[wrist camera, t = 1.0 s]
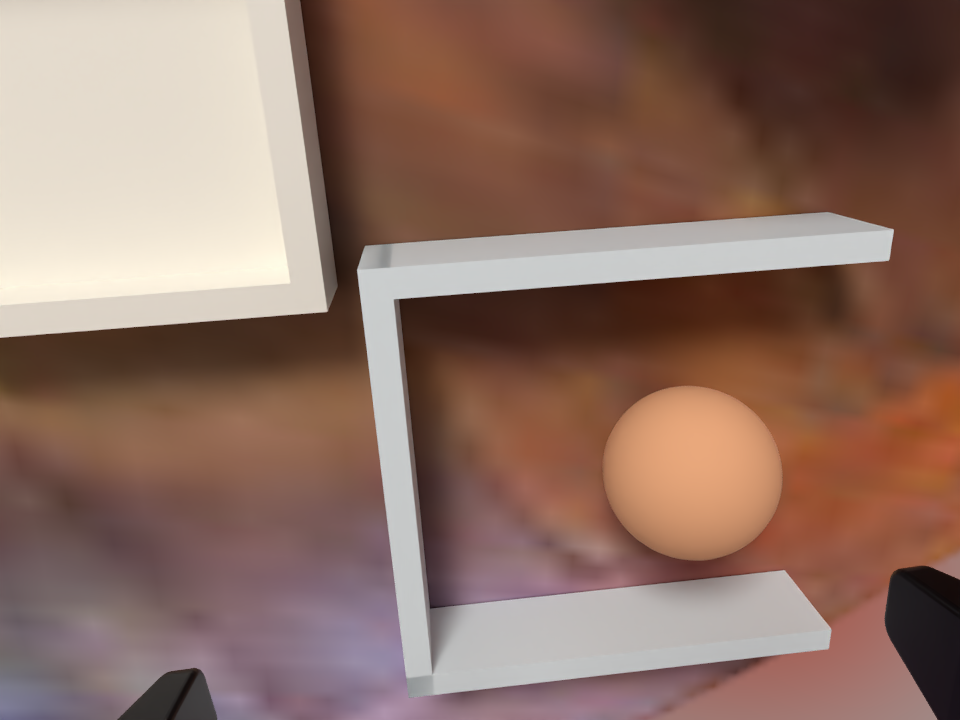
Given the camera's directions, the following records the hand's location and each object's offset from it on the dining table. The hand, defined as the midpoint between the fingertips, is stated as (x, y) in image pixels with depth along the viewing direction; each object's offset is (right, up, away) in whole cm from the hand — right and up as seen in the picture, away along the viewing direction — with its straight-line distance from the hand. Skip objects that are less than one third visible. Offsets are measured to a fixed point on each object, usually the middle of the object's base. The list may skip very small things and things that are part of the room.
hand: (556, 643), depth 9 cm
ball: (+5, +1, +14) cm, 15 cm away
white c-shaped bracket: (+3, +1, +14) cm, 14 cm away
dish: (-11, +10, +9) cm, 17 cm away
